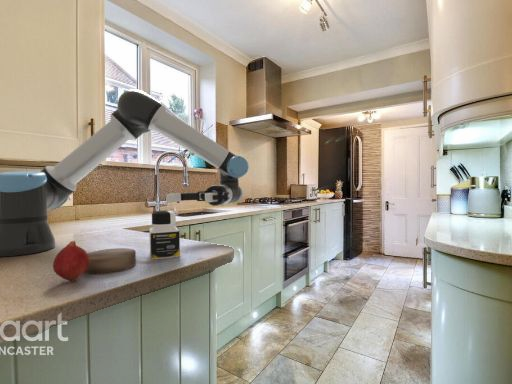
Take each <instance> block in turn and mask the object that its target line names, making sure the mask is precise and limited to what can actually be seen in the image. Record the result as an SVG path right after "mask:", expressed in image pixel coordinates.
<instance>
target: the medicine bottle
mask: <svg viewBox="0 0 512 384" xmlns="http://www.w3.org/2000/svg"><path fill="white" fill-rule="evenodd" d="M176 215H177V214H176V212H175V211H173V210H165V209H163V210H156V211H154V212H152V213H151V227H150V228H149V229H148V230H149V233H148V235H149V256H150V260H152V261H153V260H161V259H171V258H179V257H180V256H181V249H180V247H181V242H180V241H181V239H180V238H181V237H180V235H181V234H180V233H181V232H180V229H179V228H177V226H176V225H177V222H176V220H177V217H176Z"/></svg>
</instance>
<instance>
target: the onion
mask: <svg viewBox="0 0 512 384" xmlns="http://www.w3.org/2000/svg"><path fill="white" fill-rule="evenodd" d="M86 251H87V250H85V249H83V248H82V247H81V246H79V245H76V241H75V240H71V241H69V243H68V244H66V246H64V247H63V248H62V249H61V250H60V251H59V252H58V253H57V254H56V256H55V257H54V260H53V264H52V267H53V272H54V273H55V274H56V275H57V276H58V277H59V278H61V279H64V280H67V281H68V282H75V281H77V280H78V279H79V278H80V277H81V276H82V275H84V274H85V273H84V272H85V271H86V270H87V267H88V265H89V256H88V254H87V253H88V252H86Z"/></svg>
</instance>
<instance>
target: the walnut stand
mask: <svg viewBox="0 0 512 384" xmlns="http://www.w3.org/2000/svg"><path fill="white" fill-rule="evenodd" d="M86 253H87V254H88V256H89V265H88V267H87V270H86V271H85V272H84V273H83V274H88V275H105V274H106V275H107V274H114V273H117V272H118V273H119V272H123V271H127V270H128V269H131V268H133V267H135V266H136V265H137V252H136V250H135V249H133V248H125V247H123V248H121V247H118V248H117V247H116V248H105V249H100V250H95V251H91V252H86Z"/></svg>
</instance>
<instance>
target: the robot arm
mask: <svg viewBox="0 0 512 384" xmlns="http://www.w3.org/2000/svg"><path fill="white" fill-rule="evenodd" d="M153 130H154V131H155V132H157V133H159V134H161V135H163V136H164V137H165V138H167V139H169V140H171V141H172V142H174V143H176V144H177V145H178V146H180V147H182V148H184V149H185V150H187V151H189V152H191V153H192V154H193V155H195V156H197V157H199V158H200V159H202V160H203V161H205V162H207V163H208V164H210V165H211V166H213V167H215V168H217V170H219V181H220V182H219V184H215V185H214V184H213V185H210V186H209V187H207V189H206V190H200V191H195V192H174V193H166V195H165V196H166V203H169V204H171V203H177V204H179V203H180V202H182V201H183V202H184V201H197V202H204V203H208V204H209V206H210V205H211V206H213V207H214V206H217V207H218V206H221V207H224V205H227V204H234V203H236V202H239V201H240V200H241V199H242V197H243V190H242V188H241V187H240V183H239V179H241V178H243V177H244V176H245V175H246V174H247V173H248V170H249V162H248V161H247V159H246V158H245V157H243V156H241V155H236V154H235V153H233V152H232V151H229V150H228V149H226V148H225V147H223V146H222V145H221V144H219V143H217V142H216V141H214V140H213V139H212V138H210V137H208V136H206V135H205V134H204V133H202V132H201V131H199V130H197V129H196V128H194V127H193V126H192V125H189V124H188V123H186V122H185V121H183V120H182V119H180V118H179V117H177V116H175V114H173V113H171V112H170V111H168V110H167V109H166V106H165V105H164V104H163V103H161V102H160V101H158V100H157V99H156V98H154V97H153V96H151V95H149V94H148V93H146V92H144V91H143V90H141V89H140V90H139V89H129V90H125V91H124V92H122V93H121V95H120V96H119V98H118V100H117V109H116V110H115V111H113V112H111V114H110V120H109V122H107V123H106V124H105V125H104V126H102V127H101V128H100V129H99V130H98V131H96V132H95V133H94V134H92V135H91V136H90V137H88V138H87V139H86V140H85V141H84V142H82V144H80V145H79V146H78V147H76V148H75V149H74V150H73V151H72V152H71V153H69V154H68V155H67V156H65V157H64V158H63V159H62V160H61V161H59V162H58V163H57V164H55V165H47V166H45V167H44V168H42V169H41V170H40V171H31V170H30V171H29V170H26V171H5V172H3V171H2V172H0V257H15V256H22V255H30V254H36V253H41V252H46V251H49V250H52V249H54V248H55V247H56V238H55V236H54V233H53V232H52V229H51V227H50V225H49V221H48V211H52V210H53V211H54V210H56V209H58V208H60V207H62V206H63V205H65V204H66V203H67V201H68V200H69V198H70V196H71V195H72V194H73V193H75V192H76V190H77V184H78V183H79V182H80V181H81V180H82V179H84V178H85V177H87V175H89V173H91V172H92V171H94V169H96V168H97V167H98V166H99V165H100V164H102V163H103V162H104V161H105V160H106V159H107V158H109V157H110V156H111V155H112V154H113V153H116V151H117V150H118V149H120V148H121V147H122V146H124V144H126V142H128V141H130V140H134V141H135V140H137V139H138V138H139V137H141V136H142V135H143V134H145V133H148V132H150V131H153Z"/></svg>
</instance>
